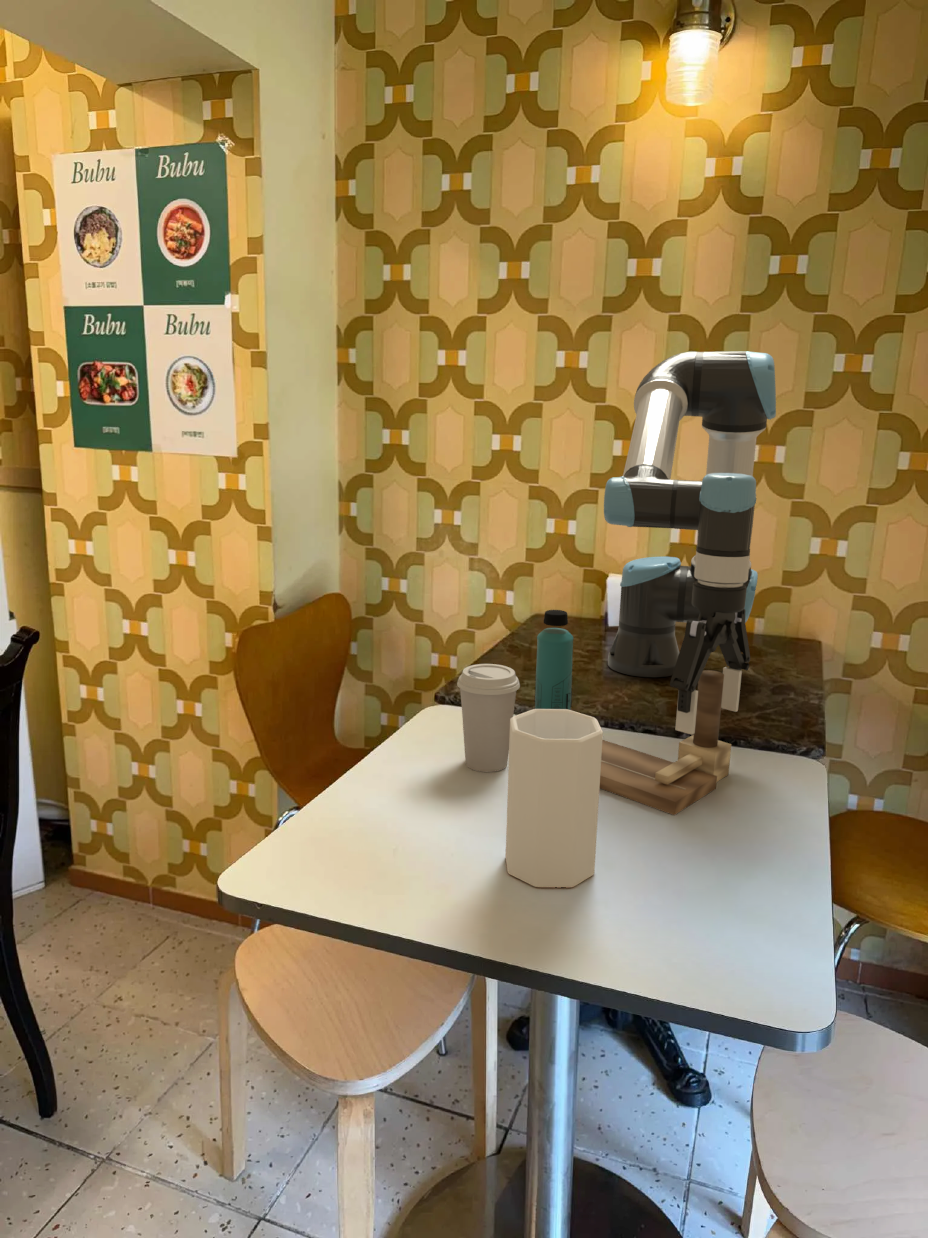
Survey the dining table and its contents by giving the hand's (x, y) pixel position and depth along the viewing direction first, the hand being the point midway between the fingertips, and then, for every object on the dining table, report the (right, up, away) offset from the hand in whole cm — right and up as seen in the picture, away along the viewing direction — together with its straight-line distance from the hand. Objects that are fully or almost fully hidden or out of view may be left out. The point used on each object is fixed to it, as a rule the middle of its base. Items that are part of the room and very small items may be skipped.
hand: (707, 720), depth 136 cm
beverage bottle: (-21, -3, +23) cm, 31 cm away
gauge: (-4, -9, -1) cm, 10 cm away
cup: (-26, -15, -25) cm, 40 cm away
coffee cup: (-33, -7, +4) cm, 34 cm away
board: (-13, -8, +1) cm, 16 cm away
